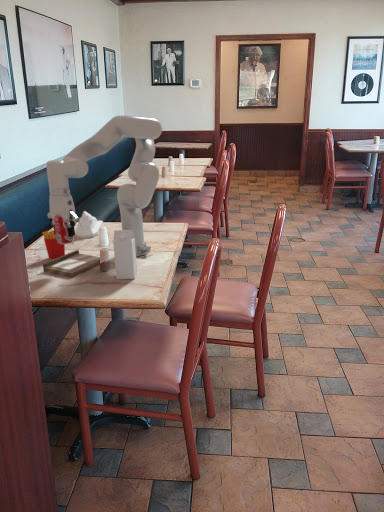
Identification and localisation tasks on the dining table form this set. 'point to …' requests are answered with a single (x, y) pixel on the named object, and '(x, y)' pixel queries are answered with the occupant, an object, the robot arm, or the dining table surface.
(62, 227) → the soda can
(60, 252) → the french fries
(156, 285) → the dining table surface
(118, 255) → the milk carton
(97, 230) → the crumpled white paper
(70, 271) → the wooden tray
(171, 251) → the dining table surface
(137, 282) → the dining table surface
